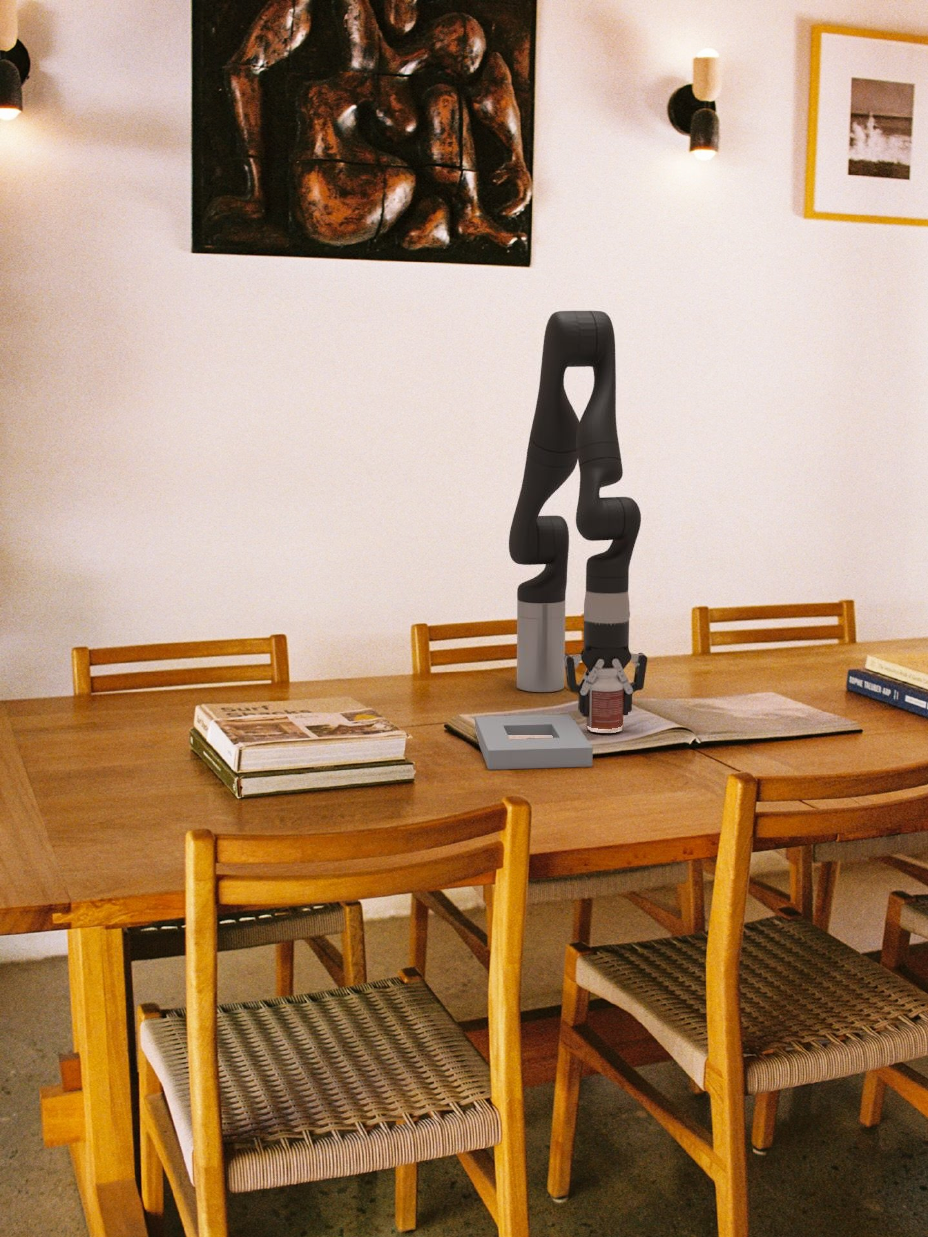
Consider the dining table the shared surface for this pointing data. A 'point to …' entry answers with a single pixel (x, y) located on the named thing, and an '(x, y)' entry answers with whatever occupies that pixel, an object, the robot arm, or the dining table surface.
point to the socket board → (532, 742)
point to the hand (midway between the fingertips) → (604, 714)
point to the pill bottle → (605, 700)
